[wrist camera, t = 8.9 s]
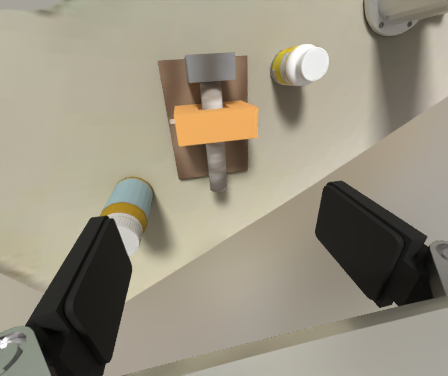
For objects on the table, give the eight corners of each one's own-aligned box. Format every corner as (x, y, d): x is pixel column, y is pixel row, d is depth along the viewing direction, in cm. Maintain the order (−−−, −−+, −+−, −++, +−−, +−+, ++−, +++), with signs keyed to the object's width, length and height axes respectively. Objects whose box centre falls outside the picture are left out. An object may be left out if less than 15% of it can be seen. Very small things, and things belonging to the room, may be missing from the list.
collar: (240, 100, 36) (258, 107, 28) (241, 124, 38) (257, 137, 30) (174, 105, 34) (173, 115, 27) (178, 130, 36) (178, 146, 28)
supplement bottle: (303, 54, 37) (341, 48, 28) (291, 88, 39) (323, 92, 30) (275, 44, 35) (306, 35, 27) (265, 80, 37) (290, 81, 29)
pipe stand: (245, 56, 35) (265, 50, 27) (246, 167, 45) (261, 189, 36) (158, 61, 33) (151, 56, 25) (178, 176, 43) (178, 201, 35)
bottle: (158, 183, 43) (150, 231, 30) (145, 210, 45) (132, 266, 32) (122, 170, 40) (96, 216, 27) (111, 199, 42) (81, 254, 29)
